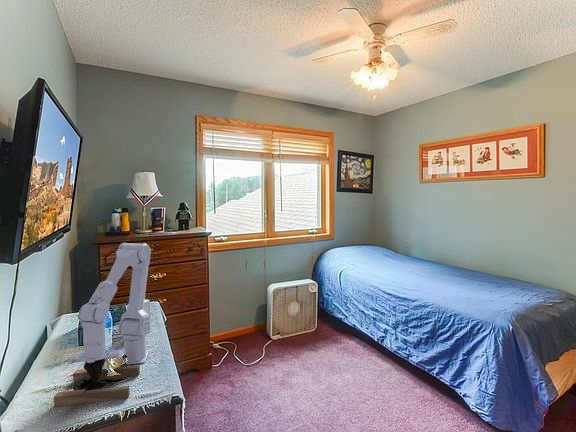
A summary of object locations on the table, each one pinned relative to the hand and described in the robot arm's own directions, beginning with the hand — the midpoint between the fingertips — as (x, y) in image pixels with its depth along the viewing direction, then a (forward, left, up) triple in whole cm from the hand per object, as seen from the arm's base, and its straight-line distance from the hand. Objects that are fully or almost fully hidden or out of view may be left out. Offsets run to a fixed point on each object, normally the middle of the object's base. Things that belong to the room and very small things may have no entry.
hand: (96, 381), depth 98 cm
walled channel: (0, +1, -2) cm, 3 cm away
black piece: (+1, -3, -3) cm, 5 cm away
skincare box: (-39, +3, -3) cm, 39 cm away
